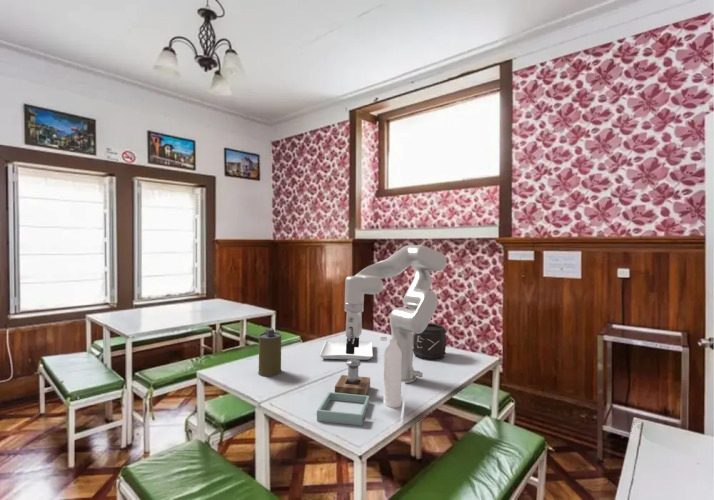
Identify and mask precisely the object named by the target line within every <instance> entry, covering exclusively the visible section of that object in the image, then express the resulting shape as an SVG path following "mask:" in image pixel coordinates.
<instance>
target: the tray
mask: <svg viewBox="0 0 714 500" xmlns="http://www.w3.org/2000/svg"><path fill="white" fill-rule="evenodd" d="M330 401H341V402H348V403H349V402H351V403H361V404H363V405H362V408H361V411H360V413H353V412H345V411H337V410H334V411H333V410H328V409H327V410H325V409H326V408H327V406H328V404H329V402H330ZM369 404H370V395H367V396H366V395H355V394H345V393H335V391H334V392H333V391H332V392H331V391H328V393H327V394H326V396H325V397H324V399H323V401H322V402H321V404H320V405H319V407H318V408H317V410H316V422H327V423H333V424H334V423H335V424H343V425H352V426H360V427H362V426H363V424H364V421H365V415H366V413H367V409H368V407H369Z"/></svg>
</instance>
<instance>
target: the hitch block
mask: <svg viewBox="0 0 714 500" xmlns="http://www.w3.org/2000/svg"><path fill="white" fill-rule="evenodd" d="M370 388H371V377H369V376H359V375H358V385H352V384H348V374H347V375H345V374H341V376H340V377H339V379H338V381H337V382H336V384H335V386H334V393H345V394H355V395H366V396H368V394H369V391H370Z"/></svg>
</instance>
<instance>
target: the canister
mask: <svg viewBox="0 0 714 500" xmlns="http://www.w3.org/2000/svg"><path fill="white" fill-rule="evenodd" d="M282 336H283V335H282V333H280V332H277V331H276V332H275V329H274V328H273V327H272V328H271V327H270V328H266V329H265V331H263V332H262V333H260V334H258V371H257V374H258V375H259V376H261V377H275V376H278V375H280V374H281V373H282Z"/></svg>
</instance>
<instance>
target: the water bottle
mask: <svg viewBox="0 0 714 500" xmlns="http://www.w3.org/2000/svg"><path fill="white" fill-rule="evenodd" d="M379 340H380V341H382V342H386V341H387V340H388V337H387V336H380V339H379ZM389 340H390V341H389V344H388V346H387V347H386V348H385V350H384V354H383V357H384V358H383V360H384V361H383V362H384V363H383V367H384V368H383V403H382V404H383V405H384V406H385V407H387V408H391V409H392V408H398V407H401V405H402V395H401V394H402V382H401V366H402V360H401V359H402V352H401V350H400V348H399V347H398V345H397V341H396V340H395V339H392V338H391V339H389Z"/></svg>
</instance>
